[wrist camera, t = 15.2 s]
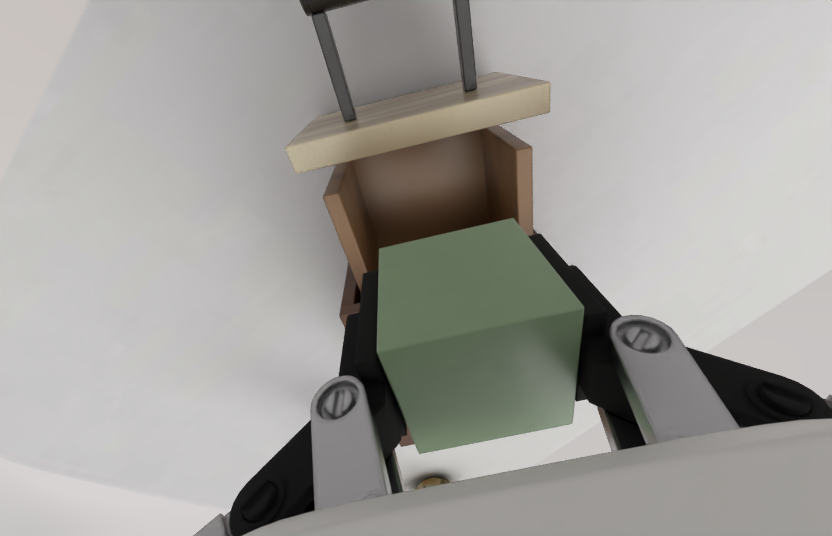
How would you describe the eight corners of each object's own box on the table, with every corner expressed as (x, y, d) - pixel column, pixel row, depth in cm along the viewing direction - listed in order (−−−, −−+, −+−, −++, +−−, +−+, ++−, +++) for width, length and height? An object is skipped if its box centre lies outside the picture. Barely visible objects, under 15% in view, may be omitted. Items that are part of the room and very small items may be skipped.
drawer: (273, 0, 17) (206, -32, 11) (488, -58, 16) (555, -129, 10) (375, 284, 28) (373, 355, 21) (507, 255, 27) (546, 319, 21)
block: (378, 247, 10) (375, 352, 7) (513, 217, 10) (585, 307, 7) (408, 341, 13) (418, 454, 9) (518, 317, 13) (573, 424, 9)
